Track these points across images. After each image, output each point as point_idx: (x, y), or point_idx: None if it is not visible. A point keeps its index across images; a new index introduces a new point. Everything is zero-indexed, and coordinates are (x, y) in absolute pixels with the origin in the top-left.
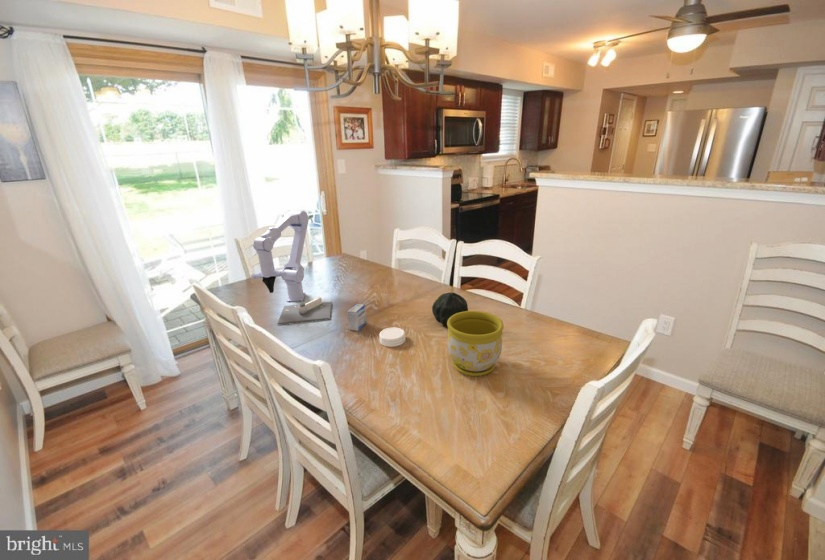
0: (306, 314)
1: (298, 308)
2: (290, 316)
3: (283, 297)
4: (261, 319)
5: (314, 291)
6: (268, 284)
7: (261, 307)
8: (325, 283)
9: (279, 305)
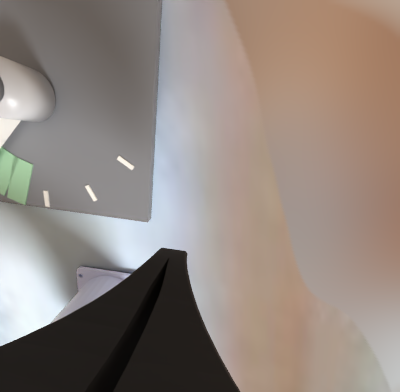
0: None
1: (19, 73)
2: (96, 67)
3: None
4: (252, 118)
5: None
6: (156, 319)
7: (253, 261)
8: None
9: None
